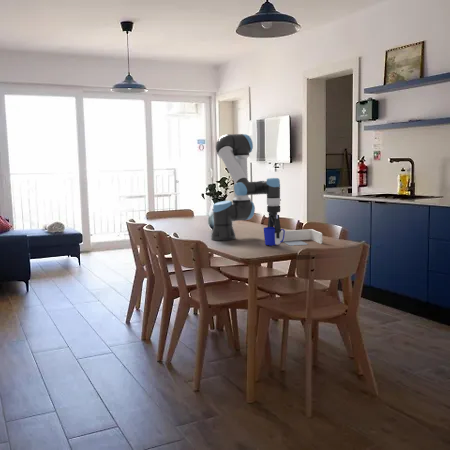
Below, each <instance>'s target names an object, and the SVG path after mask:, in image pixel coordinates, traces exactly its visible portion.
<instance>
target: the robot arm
mask: <svg viewBox="0 0 450 450" xmlns="http://www.w3.org/2000/svg"><path fill="white" fill-rule="evenodd" d="M217 139H218V140H217V142H216V144H215V151H216V154H217V156H218V158H220V159H222V162H223V164H224V166H225V168H226V169H227V171H228V173H229V174H230V177H231V179H232V180H233V182H234V185H233V190H234V197H233V198H232V199H231V200H223V201H222V200H221V201H218V202H215V203H213V205H212V206H213V207H212V213H213V215H212V216H213V228H212V232H211V240H213V241H220V240H223V241H232V240H235V239H236V233H235V230H234V228H233V227H234V226H233V222H237V221H238V222H239V221H247V220H251V219H252V218H253V217H254V215H255V212H256V211H255V210H256V207H255V204H254V202H253V201H252V200H251V198H250V197H249V196H255V195H256V196H257V195H258V196H259V195H266V205H267V206H266V210H267V211H266V212H267V213H268V219H267V220H268V221H267V226H266V227H274V228H275V232H274V233H275V244H276V245H281V242H280V232H281V231H282V230H281V229H282V227H281V222H280V214H279V213H280V212H281V201H282V199H281V182H280V181H281V180H280V178H278V177H268V178H266V180H258V181H249V180H248V177H249V176H248V157H250V154H251V153H252V152H253V149H254V144H253V143H254V142H253V140H252V138H251V136H250V135H248V134H246V133H245V134H243V133H238V134H237V133H235V134H234V133H231V134H227V133H226V134H224V135H221V136H220V137H219V138H217Z"/></svg>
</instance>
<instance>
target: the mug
mask: <svg viewBox="0 0 450 450" xmlns="http://www.w3.org/2000/svg"><path fill="white" fill-rule="evenodd" d="M281 231H284V232H283V239H282V241H283V240H284V234H285V231H286V230H285V229H284V228H281ZM274 232H275V228H274V226H273V227H267V226H266V227H263V235H264V244H265V245H266V246H267V245H269V246H268V247H272V246H273V245H274V246H277V244H275V233H274ZM282 241H280V243H283V242H282Z"/></svg>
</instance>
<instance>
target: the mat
mask: <svg viewBox="0 0 450 450" xmlns="http://www.w3.org/2000/svg"><path fill="white" fill-rule="evenodd" d="M281 243H284V244H285V245H288V246H290V247H294V245H296V246H307V245H309V243H307V242H305V241H304V240H293V241H282V242H281Z"/></svg>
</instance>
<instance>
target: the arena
mask: <svg viewBox="0 0 450 450" xmlns="http://www.w3.org/2000/svg"><path fill="white" fill-rule="evenodd" d="M283 232H284V231H283V230H281V232H280V241H282V239H283ZM297 240H301V241H306V240H307V241H308V240H311V241H313V242H316V243H317V244H320V245H321V244H323V233H322V232H320V231H317V230H315V229H313V228H309V229H292V230H291V229H290V230H285V234H284V240H283V241H297Z"/></svg>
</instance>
